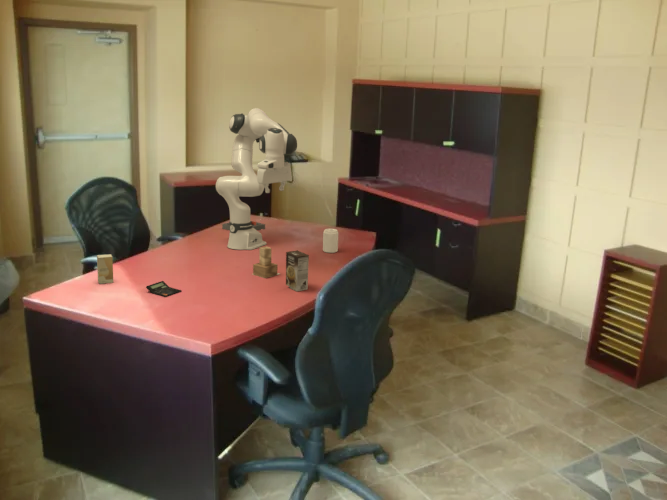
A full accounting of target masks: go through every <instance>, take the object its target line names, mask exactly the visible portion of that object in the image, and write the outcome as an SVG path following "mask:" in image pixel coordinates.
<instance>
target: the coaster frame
mask: <svg viewBox="0 0 667 500" xmlns="http://www.w3.org/2000/svg"><path fill="white" fill-rule="evenodd" d="M250 221H251V222H252V221H253V220H250ZM255 222H256V225H253V228H254V229H256V230H258V231H262V230H261V229H263V230H265V229H266V223H262V222H257V221H255ZM221 225H222V227H221V228H222V230H226V231H230V228H229V222H225V223H222V224H221Z"/></svg>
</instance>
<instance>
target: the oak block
mask: <svg viewBox="0 0 667 500" xmlns="http://www.w3.org/2000/svg"><path fill="white" fill-rule="evenodd" d="M258 248H259V255H258V256H259V259H258V260H259V262H258V263H259V264H260V265H263V266H268V265H271V263H272V248H271V247H270V246H267V245H265V246H261V247H258Z"/></svg>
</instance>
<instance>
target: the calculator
mask: <svg viewBox="0 0 667 500" xmlns="http://www.w3.org/2000/svg"><path fill="white" fill-rule="evenodd" d="M145 289H147V290H148V292H149V293H151V294H152V295H155V296H159V297H161V298H162V297H164V298H168V297H170V296H173V295H176V294H179V293H182V291H183V290H181V289H178V288H174V287H172V286H171V287H170V286H169V285H168V284H167V283H166V282H165V281H163V280H161V281H158V282H156V283H153V284H149V285H146V287H145Z"/></svg>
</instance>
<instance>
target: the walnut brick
mask: <svg viewBox="0 0 667 500" xmlns="http://www.w3.org/2000/svg"><path fill="white" fill-rule="evenodd" d="M252 266H253V267H252V269H253V270H252V274H253V276H255V277H256V276H257V277H259V278H263V279H268V278H271V276H272V277H275V276H278V275H277V273H278V264H277V263H273V262H271V265H268V266H263V265H260V264H259V262H257V263H254V264H252Z"/></svg>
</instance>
